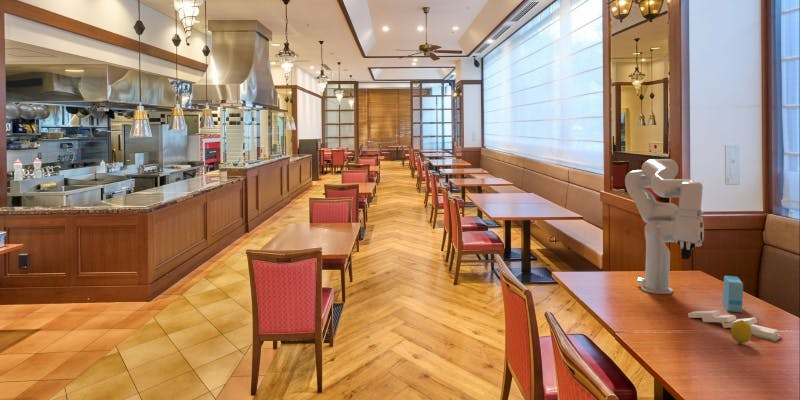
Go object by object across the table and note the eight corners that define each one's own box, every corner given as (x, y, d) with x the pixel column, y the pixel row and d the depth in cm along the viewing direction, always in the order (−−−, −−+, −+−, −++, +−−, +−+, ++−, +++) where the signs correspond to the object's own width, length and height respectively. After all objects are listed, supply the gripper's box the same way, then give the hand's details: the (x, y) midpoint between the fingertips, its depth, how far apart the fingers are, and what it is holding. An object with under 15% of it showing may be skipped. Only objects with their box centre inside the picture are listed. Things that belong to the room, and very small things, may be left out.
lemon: (726, 340, 161) (727, 317, 160) (741, 340, 161) (743, 316, 161) (739, 347, 156) (740, 323, 155) (755, 346, 156) (756, 322, 155)
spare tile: (744, 331, 167) (775, 338, 160) (749, 327, 170) (781, 335, 163) (744, 335, 168) (775, 343, 160) (749, 332, 170) (780, 339, 163)
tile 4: (740, 326, 168) (772, 333, 161) (746, 322, 171) (777, 329, 164) (740, 330, 168) (772, 338, 161) (745, 327, 171) (777, 334, 164)
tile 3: (721, 323, 173) (747, 320, 165) (729, 320, 175) (755, 317, 167) (723, 327, 172) (749, 325, 165) (731, 324, 175) (757, 322, 167)
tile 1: (687, 313, 183) (711, 313, 175) (695, 311, 185) (719, 310, 178) (688, 317, 183) (712, 317, 175) (696, 315, 185) (720, 315, 177)
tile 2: (702, 317, 179) (726, 317, 171) (710, 315, 181) (735, 315, 173) (703, 321, 178) (727, 322, 170) (711, 319, 180) (736, 319, 172)
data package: (741, 313, 186) (743, 283, 185) (727, 312, 188) (729, 282, 187) (735, 304, 197) (737, 275, 196) (722, 303, 199) (723, 274, 198)
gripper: (714, 214, 185) (710, 261, 188) (675, 209, 198) (672, 253, 201) (704, 217, 181) (700, 264, 184) (665, 211, 194) (662, 255, 197)
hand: (685, 258), depth 193 cm, fingers closed
